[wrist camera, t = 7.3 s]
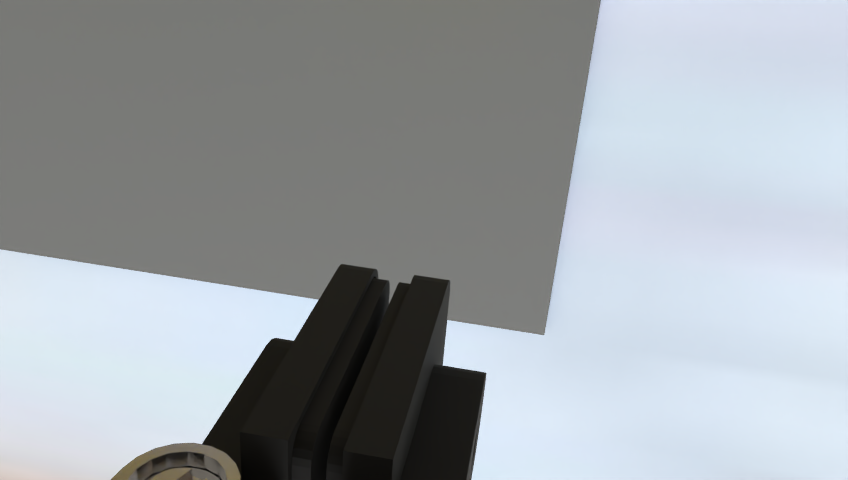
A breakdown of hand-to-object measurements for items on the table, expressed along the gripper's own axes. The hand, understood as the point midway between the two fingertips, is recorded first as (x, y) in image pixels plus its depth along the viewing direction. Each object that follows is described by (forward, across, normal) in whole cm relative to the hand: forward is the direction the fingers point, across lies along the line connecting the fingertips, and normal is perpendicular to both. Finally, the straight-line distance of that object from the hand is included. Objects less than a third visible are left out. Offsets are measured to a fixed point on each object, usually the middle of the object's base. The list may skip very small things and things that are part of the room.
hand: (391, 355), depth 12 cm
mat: (+16, +9, 0) cm, 18 cm away
